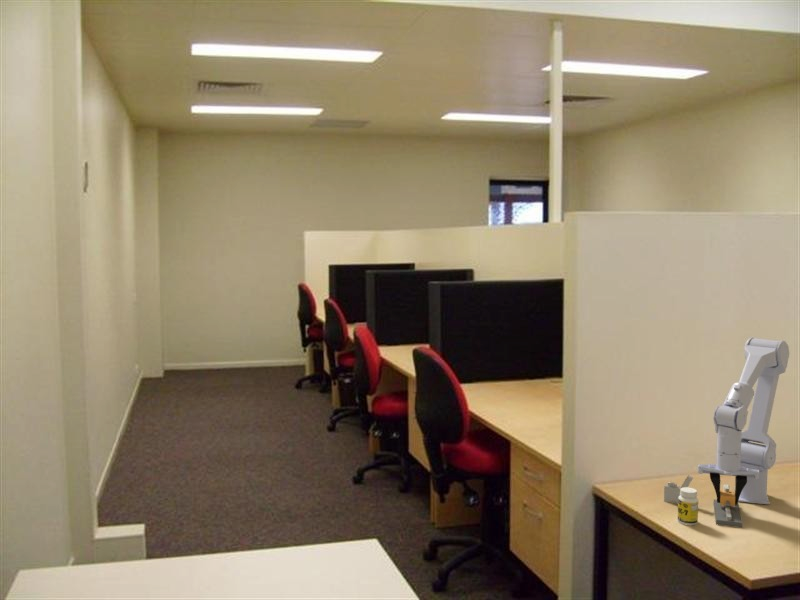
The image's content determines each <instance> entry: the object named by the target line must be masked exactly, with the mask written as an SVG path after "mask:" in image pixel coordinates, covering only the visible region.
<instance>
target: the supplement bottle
mask: <svg viewBox="0 0 800 600" xmlns="http://www.w3.org/2000/svg"><path fill="white" fill-rule="evenodd" d="M698 519H699V498H698V490H697V489H696V488H693V487H689V486H688V487H683V488H681V489H680V496H679V497H678V504H677V522H678V523H680V524H682V523H683V524H682V525H685V524H687V525H686V526H695V525H697V524H698V521H699V520H698Z"/></svg>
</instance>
